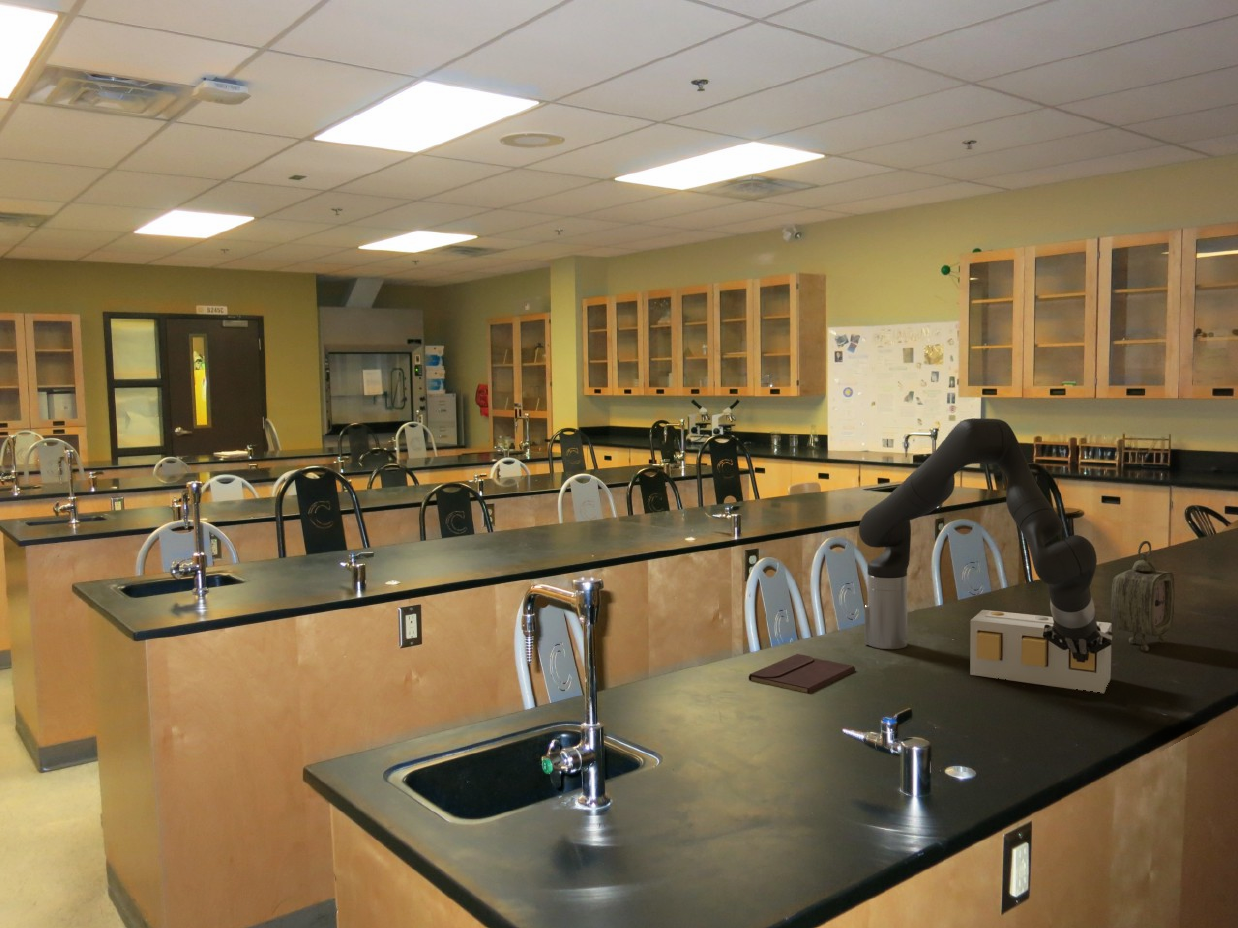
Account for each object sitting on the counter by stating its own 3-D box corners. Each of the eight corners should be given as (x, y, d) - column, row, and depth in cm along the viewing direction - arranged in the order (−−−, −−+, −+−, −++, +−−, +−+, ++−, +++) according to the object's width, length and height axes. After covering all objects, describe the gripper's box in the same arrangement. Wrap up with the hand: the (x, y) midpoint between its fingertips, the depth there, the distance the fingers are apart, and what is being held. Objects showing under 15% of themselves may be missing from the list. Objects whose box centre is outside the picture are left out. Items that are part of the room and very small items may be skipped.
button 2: (1070, 667, 196) (1070, 642, 195) (1072, 663, 198) (1073, 639, 198) (1094, 670, 193) (1094, 645, 193) (1096, 666, 196) (1096, 641, 195)
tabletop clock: (1149, 654, 219) (1152, 546, 217) (1108, 647, 225) (1110, 542, 223) (1173, 642, 228) (1175, 539, 226) (1133, 636, 235) (1135, 535, 233)
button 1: (976, 658, 204) (977, 634, 204) (980, 654, 206) (980, 630, 206) (998, 660, 202) (998, 636, 201) (1001, 657, 204) (1001, 633, 204)
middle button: (1021, 663, 199) (1022, 639, 199) (1024, 660, 202) (1024, 636, 201) (1044, 666, 197) (1044, 642, 196) (1047, 663, 199) (1047, 638, 199)
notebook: (855, 673, 212) (855, 664, 212) (809, 695, 197) (809, 686, 197) (796, 661, 222) (796, 652, 221) (748, 682, 207) (748, 673, 207)
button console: (970, 674, 207) (970, 617, 206) (982, 661, 216) (982, 607, 215) (1103, 693, 193) (1104, 632, 192) (1110, 678, 202) (1111, 620, 201)
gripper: (1113, 597, 181) (1119, 646, 192) (1038, 590, 189) (1048, 638, 200) (1109, 631, 177) (1116, 679, 188) (1033, 622, 185) (1043, 669, 196)
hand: (1081, 658), depth 194 cm, fingers closed
